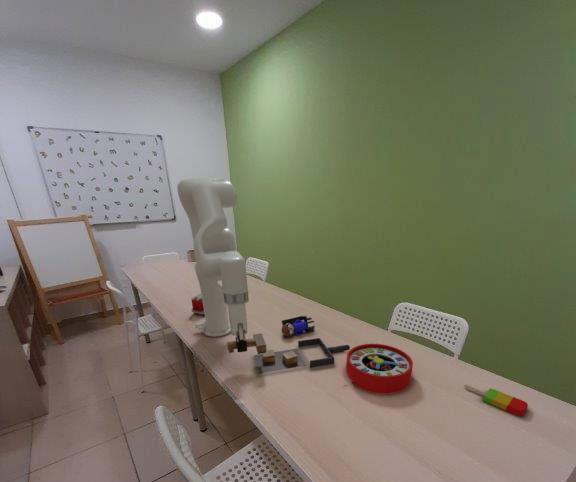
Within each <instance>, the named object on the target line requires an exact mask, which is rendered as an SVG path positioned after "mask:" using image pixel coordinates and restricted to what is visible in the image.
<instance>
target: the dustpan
mask: <svg viewBox="0 0 576 482" xmlns="http://www.w3.org/2000/svg"><path fill="white" fill-rule="evenodd" d="M297 344H298V345H297V347H298V348H302V347H310V346H317V345H319V347H320V348H321V349H322V351H323V353H324V354H325V355H326V357H324V358H318V359H311V360H309V368H317V367H323V366H328V365H334V364H335V356H334V355H333V353H340V352H345V351H350V350H351V346H350V344H343V345H337V346H330V347H329V346H328V347H327V345H326V344H325V343H324V342H323V340H322V339H321V338H320V337H315V338H310V339H302V340H297Z"/></svg>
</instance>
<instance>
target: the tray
mask: <svg viewBox="0 0 576 482" xmlns="http://www.w3.org/2000/svg"><path fill="white" fill-rule="evenodd" d="M290 351H293V352H294V353H295V354H296V355H297V356H298V362H296V363H293V364H290V365H287V364H286V363H285V362H284V361H283V360H282V354H283V353H286V352H290ZM274 354H275V362H266V363H264V362H263V353H261V354H258V353H257V354H254V359H255V363H256V366H257V367H256V368H257V370H258V374H264V373H268V372H269V373H270V372H275V371H276V372H277V371H282V370H287V369H296V368H300V367H306V366H307V365H306V363H305V361H304V359H303V357H302V356H301V353H300V352H299V350H298V349H297V348H293V349H286V350H280V351H274Z"/></svg>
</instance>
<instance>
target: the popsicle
mask: <svg viewBox="0 0 576 482" xmlns="http://www.w3.org/2000/svg"><path fill="white" fill-rule="evenodd" d="M463 387H464V388H467V389H469V390H472V391H474V392H476V393H478V394H481V395H483V396H482V398H481V399H482V402H484V403H487V404H489V405H492V406H494V407H497V408H499V409H501V410H504V411H506V412H507V413H508V412H509V413H511V414H513V415H516V416H520V417H522V416H524V415H525V413H526V411H527V409H528V406H529V405H528V403H527V401H525V400H524V399H523V400H522V399H520V398H518V397H516V396H512V395H510V394H507V393H506V392H505V393H504V392H502V391H499V390H496V389H494V388H489V389H488V390H487V391H486V392H485V391H483V390H481V389H478V388H475V387H473V386H471V385H468V384H464V385H463Z"/></svg>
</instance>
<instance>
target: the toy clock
mask: <svg viewBox="0 0 576 482" xmlns="http://www.w3.org/2000/svg"><path fill="white" fill-rule="evenodd" d="M413 366H414V361H413V359H412V357H410V355H409V354H408V353H406V352H405V351H403V350H402V349H399V348H397V347H394V346H392V345H388V344H387V345H386V344H383V343H382V344H381V343H365V344H364V343H363V344H359V345H356V346H354V347H352V348H350V349H349V350H348V352H347V355H346V363H345V372H346V375H347V376H348V378H349V379H350V380H351V384H352V385H354V386H355V387H356V388H359V389H361V390H363V391H366V392H369V393H373V394H381V395H391V394H397V393H400V392H402V391H404V390H406V389H407V388H408V387H409V386H410V384H411V380H412V379H411V378H412V373H413Z"/></svg>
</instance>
